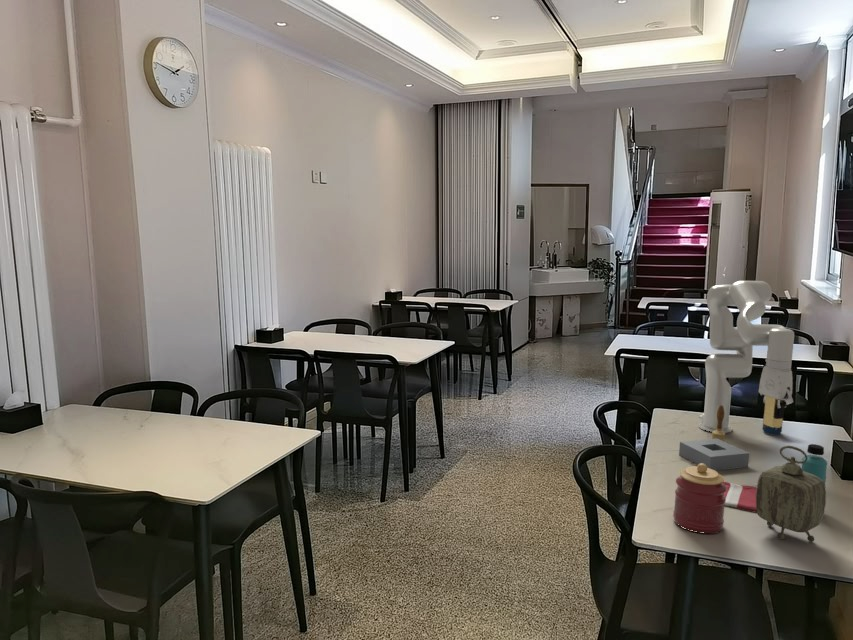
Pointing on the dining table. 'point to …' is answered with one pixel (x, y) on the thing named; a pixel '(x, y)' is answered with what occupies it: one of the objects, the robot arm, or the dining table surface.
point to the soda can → (771, 429)
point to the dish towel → (740, 496)
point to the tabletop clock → (791, 497)
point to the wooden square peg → (771, 413)
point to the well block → (714, 454)
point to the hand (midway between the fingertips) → (773, 415)
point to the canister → (700, 499)
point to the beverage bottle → (815, 462)
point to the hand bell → (719, 426)
